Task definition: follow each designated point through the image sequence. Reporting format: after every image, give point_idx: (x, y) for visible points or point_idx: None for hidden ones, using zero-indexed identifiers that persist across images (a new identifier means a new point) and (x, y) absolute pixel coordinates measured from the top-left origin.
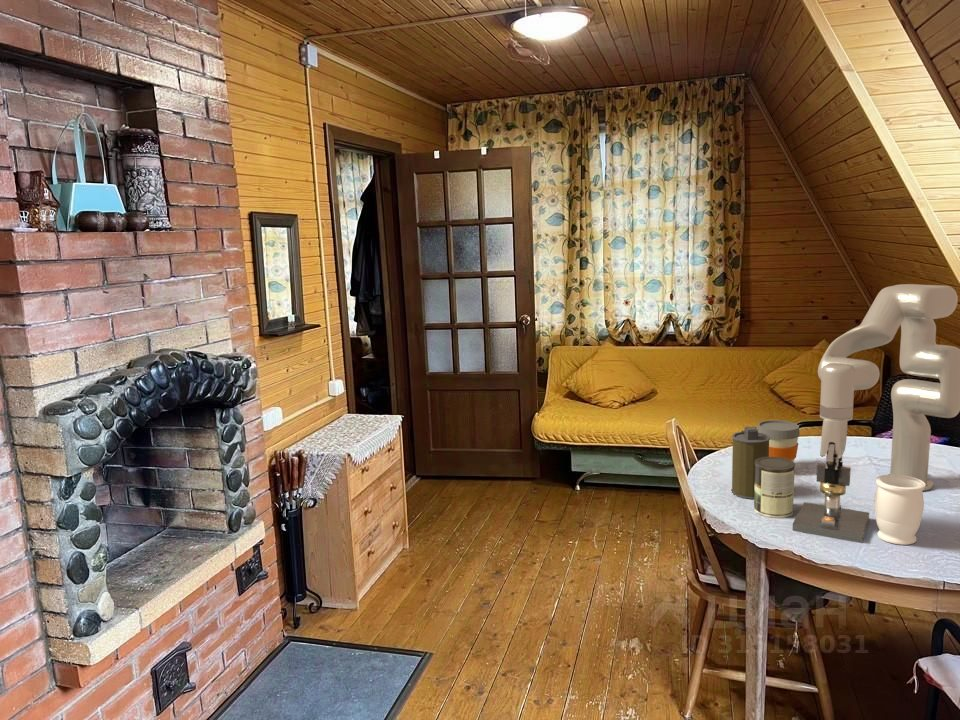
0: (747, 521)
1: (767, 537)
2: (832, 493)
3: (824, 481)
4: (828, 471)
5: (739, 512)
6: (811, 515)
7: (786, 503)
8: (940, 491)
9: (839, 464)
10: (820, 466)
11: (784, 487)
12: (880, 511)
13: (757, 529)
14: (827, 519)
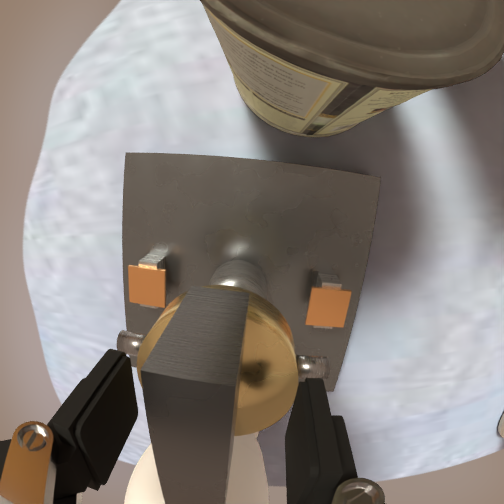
0: (169, 10)
1: (67, 98)
2: (131, 354)
3: (108, 351)
4: (50, 423)
5: None
6: (234, 212)
7: (253, 101)
8: (493, 444)
9: (290, 501)
10: (146, 394)
11: (234, 63)
12: (146, 454)
13: (112, 53)
14: (135, 283)
